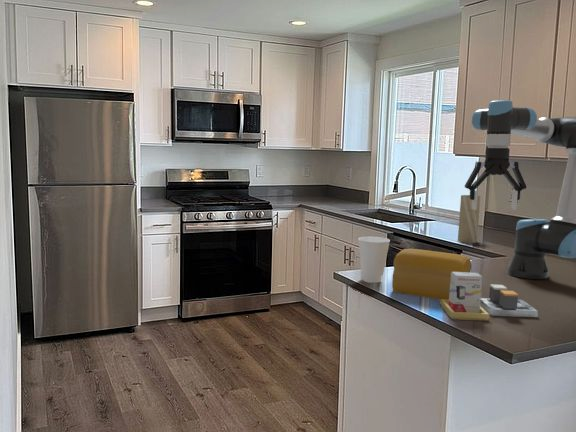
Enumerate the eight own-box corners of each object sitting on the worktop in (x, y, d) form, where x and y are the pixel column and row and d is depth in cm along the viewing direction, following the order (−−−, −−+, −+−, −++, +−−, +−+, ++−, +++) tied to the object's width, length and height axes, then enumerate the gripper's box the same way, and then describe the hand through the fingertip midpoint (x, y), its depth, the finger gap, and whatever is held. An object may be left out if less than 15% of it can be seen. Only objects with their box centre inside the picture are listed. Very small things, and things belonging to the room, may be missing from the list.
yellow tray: (474, 306, 174) (474, 300, 174) (488, 320, 160) (489, 314, 160) (440, 305, 174) (440, 299, 174) (451, 319, 160) (452, 312, 160)
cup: (392, 279, 205) (394, 238, 203) (381, 286, 195) (383, 243, 193) (363, 275, 211) (365, 235, 209) (351, 281, 201) (353, 239, 199)
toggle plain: (501, 298, 176) (502, 284, 175) (505, 302, 172) (507, 288, 171) (489, 298, 176) (490, 284, 175) (493, 301, 172) (494, 287, 171)
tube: (479, 243, 289) (483, 197, 285) (461, 242, 289) (464, 196, 285) (473, 239, 299) (476, 195, 295) (455, 239, 299) (458, 194, 295)
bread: (391, 291, 189) (393, 250, 187) (402, 284, 200) (404, 244, 198) (462, 303, 177) (465, 259, 175) (469, 294, 188) (473, 253, 186)
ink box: (452, 312, 164) (454, 275, 163) (447, 307, 170) (450, 271, 168) (480, 313, 164) (483, 276, 163) (475, 308, 169) (478, 272, 168)
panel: (521, 305, 176) (522, 299, 176) (537, 317, 165) (538, 310, 164) (478, 304, 177) (479, 297, 176) (491, 315, 165) (492, 308, 165)
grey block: (511, 304, 169) (513, 290, 168) (516, 308, 165) (518, 294, 164) (498, 304, 169) (500, 290, 168) (503, 308, 165) (504, 293, 164)
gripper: (530, 147, 184) (525, 208, 188) (457, 146, 185) (454, 207, 188) (539, 147, 177) (535, 211, 180) (464, 147, 177) (460, 210, 180)
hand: (493, 209), depth 184 cm, fingers open, 13 cm apart
